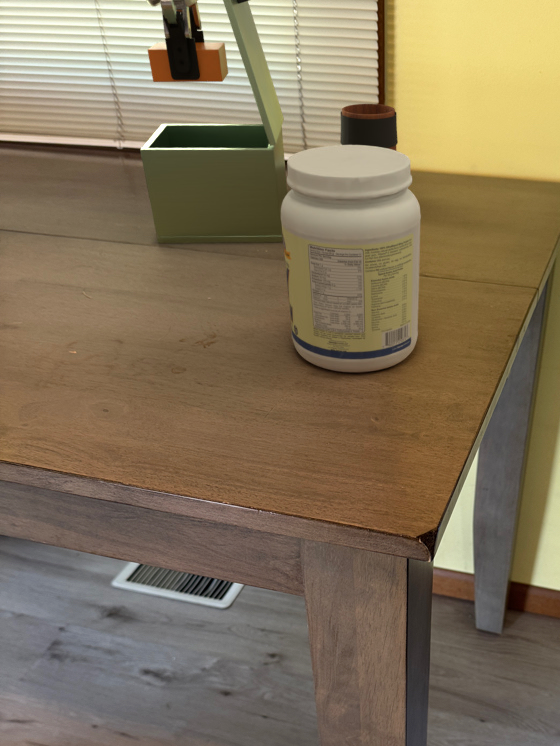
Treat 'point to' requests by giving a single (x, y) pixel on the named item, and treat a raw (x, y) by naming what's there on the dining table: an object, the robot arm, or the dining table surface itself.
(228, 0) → the bin lid
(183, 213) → the bin
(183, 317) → the dining table surface
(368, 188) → the supplement tub
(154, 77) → the orange block
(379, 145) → the mug
